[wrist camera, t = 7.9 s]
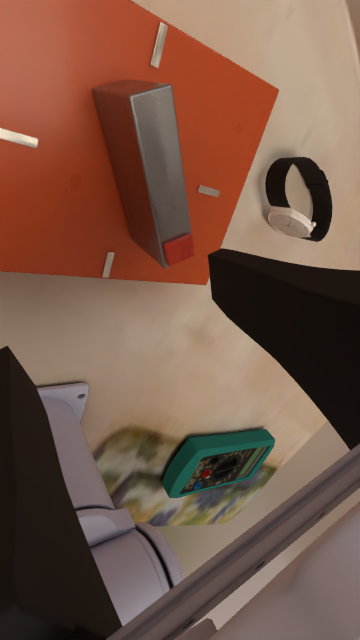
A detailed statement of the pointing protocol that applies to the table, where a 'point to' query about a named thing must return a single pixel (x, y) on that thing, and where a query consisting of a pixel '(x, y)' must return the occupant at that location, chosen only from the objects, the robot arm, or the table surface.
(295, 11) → the table surface
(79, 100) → the orange block
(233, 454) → the digital multimeter
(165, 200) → the grey block with button
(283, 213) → the watch
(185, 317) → the table surface
